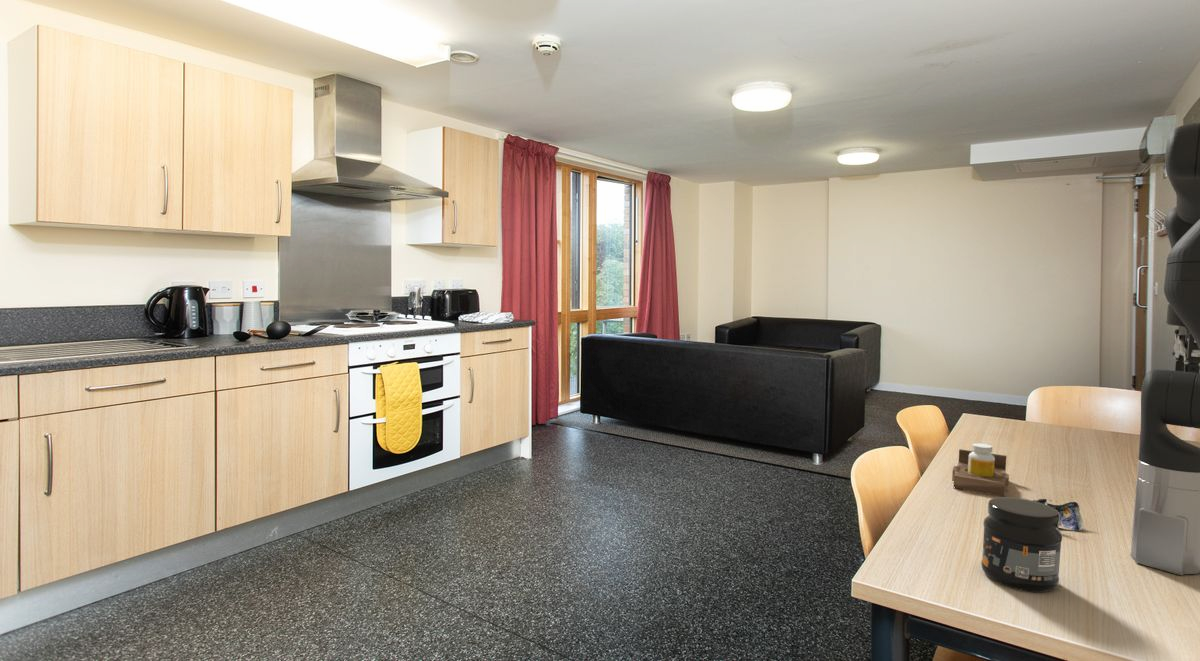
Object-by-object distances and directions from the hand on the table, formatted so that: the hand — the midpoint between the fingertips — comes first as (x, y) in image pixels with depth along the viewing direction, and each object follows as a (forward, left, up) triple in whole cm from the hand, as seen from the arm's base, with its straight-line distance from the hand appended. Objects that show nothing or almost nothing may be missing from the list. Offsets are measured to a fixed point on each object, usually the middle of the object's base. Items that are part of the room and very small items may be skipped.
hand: (1185, 380), depth 131 cm
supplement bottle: (-15, +32, -28) cm, 45 cm away
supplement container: (-62, +6, -28) cm, 68 cm away
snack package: (-30, +14, -29) cm, 44 cm away
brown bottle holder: (-15, +32, -28) cm, 45 cm away
